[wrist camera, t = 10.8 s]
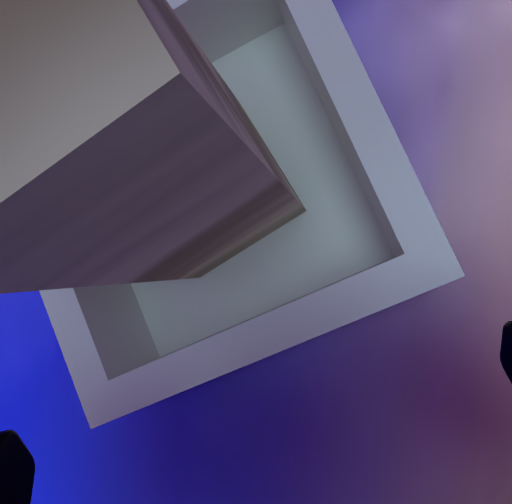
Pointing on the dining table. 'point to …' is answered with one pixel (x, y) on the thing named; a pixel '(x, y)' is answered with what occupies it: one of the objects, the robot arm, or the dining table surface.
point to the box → (281, 240)
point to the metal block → (123, 150)
